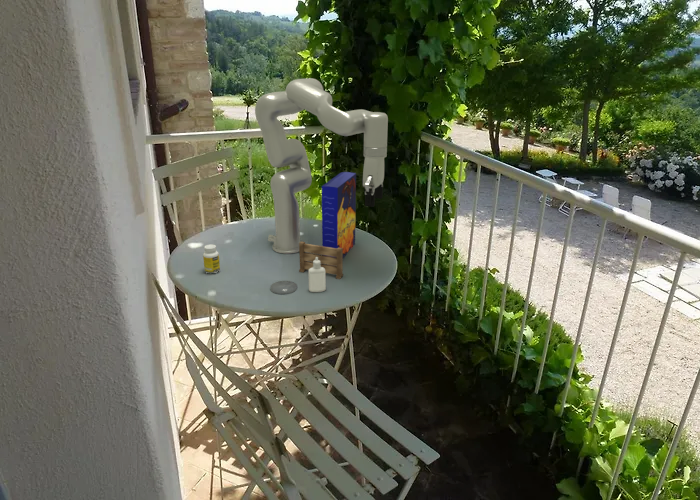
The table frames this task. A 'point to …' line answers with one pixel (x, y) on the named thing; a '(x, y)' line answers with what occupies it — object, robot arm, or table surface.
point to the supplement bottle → (211, 259)
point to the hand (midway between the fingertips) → (373, 202)
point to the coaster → (283, 287)
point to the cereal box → (339, 212)
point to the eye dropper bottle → (317, 277)
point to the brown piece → (321, 258)
